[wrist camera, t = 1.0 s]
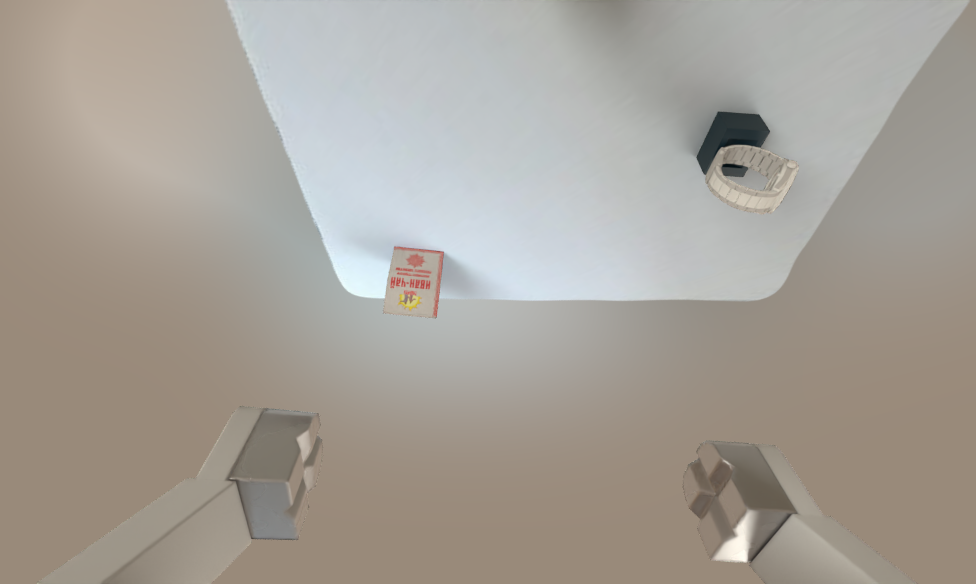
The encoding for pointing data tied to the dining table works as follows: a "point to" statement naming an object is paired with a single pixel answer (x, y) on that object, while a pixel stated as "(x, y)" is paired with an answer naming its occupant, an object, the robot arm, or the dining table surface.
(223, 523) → the robot arm
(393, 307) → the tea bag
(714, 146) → the watch
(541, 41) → the dining table surface
